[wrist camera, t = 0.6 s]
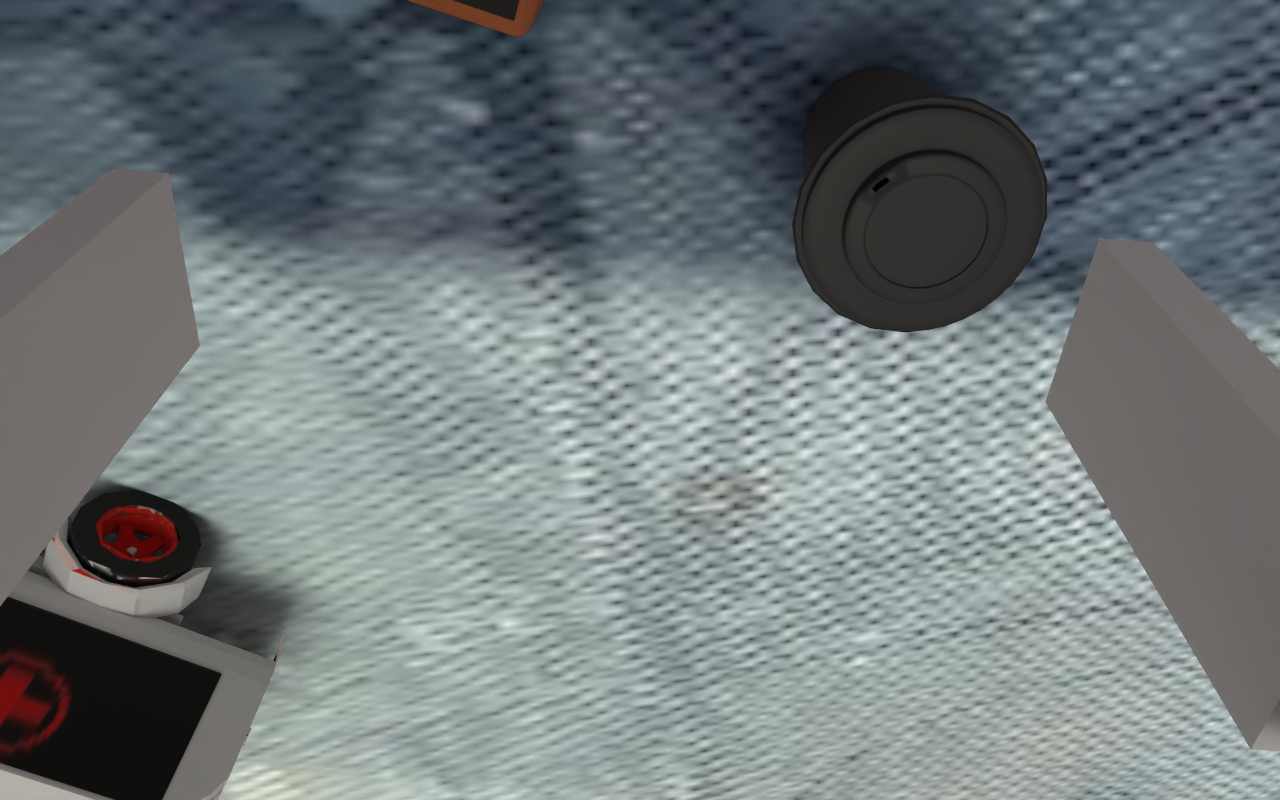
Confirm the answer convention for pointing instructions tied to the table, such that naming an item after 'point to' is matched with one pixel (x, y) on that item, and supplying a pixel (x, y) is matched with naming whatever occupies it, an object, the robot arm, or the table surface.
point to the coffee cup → (913, 202)
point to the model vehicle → (120, 665)
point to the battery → (491, 13)
